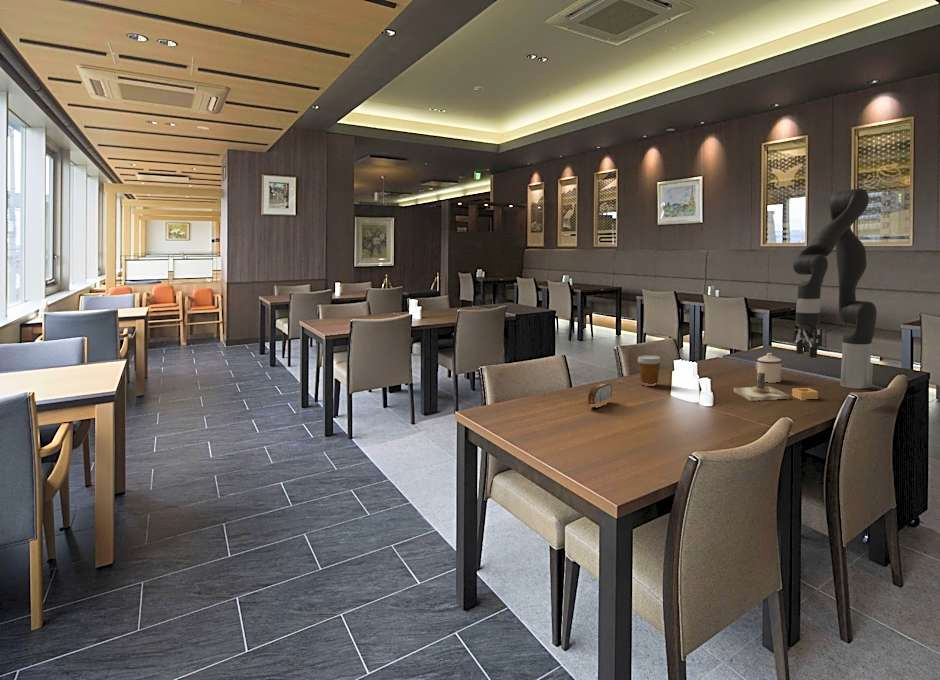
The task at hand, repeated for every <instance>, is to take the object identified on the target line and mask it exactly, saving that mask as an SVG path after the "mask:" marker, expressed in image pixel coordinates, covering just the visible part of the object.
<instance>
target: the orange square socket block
mask: <svg viewBox="0 0 940 680" xmlns="http://www.w3.org/2000/svg"><path fill="white" fill-rule="evenodd" d="M792 396H793V397H792ZM791 397H792V398H794V397H795V399H796V398H798V399H797V400H799V399H800V400H799V401H807V400H806V399H818V400H819V391H817V390H814V389H812V388H811V387H800V388H799V387H797V388H796V387H794V388H791Z"/></svg>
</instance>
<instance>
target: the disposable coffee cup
mask: <svg viewBox="0 0 940 680" xmlns="http://www.w3.org/2000/svg"><path fill="white" fill-rule="evenodd" d="M637 358H638V359H637V363H638V368H639V379H640V383H641V382H643V383H648V384H654V383H657V384H658V380H659V375H660V374H659V373H660V366H661V362H662V359H661V357H660V356H658V355H655V354H654V355H653V354H652V355H651V354H648V355H646V354H645V355H639V356H638V357H637Z"/></svg>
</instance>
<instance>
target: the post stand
mask: <svg viewBox="0 0 940 680" xmlns="http://www.w3.org/2000/svg"><path fill="white" fill-rule="evenodd" d="M756 380H757V379H756ZM733 392H734V394H737V395H739V396H740V397H743V398H745V399H746V400H748V401H750V402H757V401H759V400H760V401H778V400H777V399H787V400H790V397H791V396H790V394H787V393H785V392H783V391H782V390H781V391H780V390H779V389H777V388H774V387H773V386H766V385H765V373H758V380H757V384H756V385H754V386H752V387H751V386H749V387H733Z"/></svg>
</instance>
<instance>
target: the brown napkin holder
mask: <svg viewBox="0 0 940 680" xmlns="http://www.w3.org/2000/svg"><path fill="white" fill-rule="evenodd" d="M612 391H613V386H612V384H611V383H609V382H605V381H602V382H600V383H597V384H594V385H593V386H592V387H591V388H590V390H589V392H588V398H587V403H588V405H589V404H597V403H599V402H601V401H603V400H606V399H608V398H610V397H611V398H612V394H613V393H612Z"/></svg>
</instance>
